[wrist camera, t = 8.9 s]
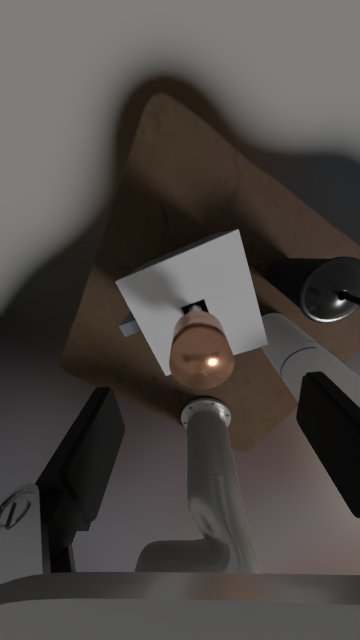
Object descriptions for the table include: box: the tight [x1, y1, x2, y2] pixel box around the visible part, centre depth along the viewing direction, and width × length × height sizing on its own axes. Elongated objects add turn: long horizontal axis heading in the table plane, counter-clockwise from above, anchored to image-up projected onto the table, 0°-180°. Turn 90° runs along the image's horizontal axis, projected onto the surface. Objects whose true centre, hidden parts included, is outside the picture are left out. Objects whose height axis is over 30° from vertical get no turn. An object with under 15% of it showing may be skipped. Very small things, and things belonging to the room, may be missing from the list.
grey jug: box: [116, 229, 268, 376], centre depth 27 cm, size 16×12×17 cm
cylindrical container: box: [261, 313, 360, 407], centre depth 27 cm, size 7×7×25 cm
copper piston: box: [169, 299, 234, 389], centre depth 22 cm, size 9×9×23 cm
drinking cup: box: [267, 256, 360, 323], centre depth 24 cm, size 8×8×20 cm
